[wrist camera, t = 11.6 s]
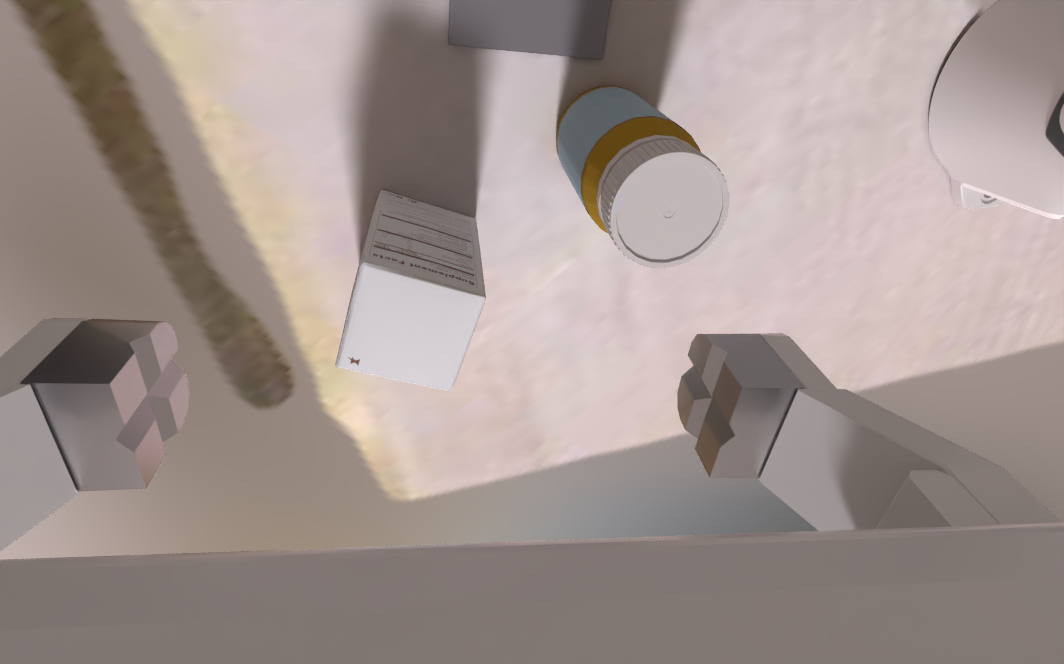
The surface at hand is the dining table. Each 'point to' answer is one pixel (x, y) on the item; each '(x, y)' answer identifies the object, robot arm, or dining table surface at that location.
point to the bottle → (641, 177)
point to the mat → (531, 26)
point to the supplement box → (414, 294)
